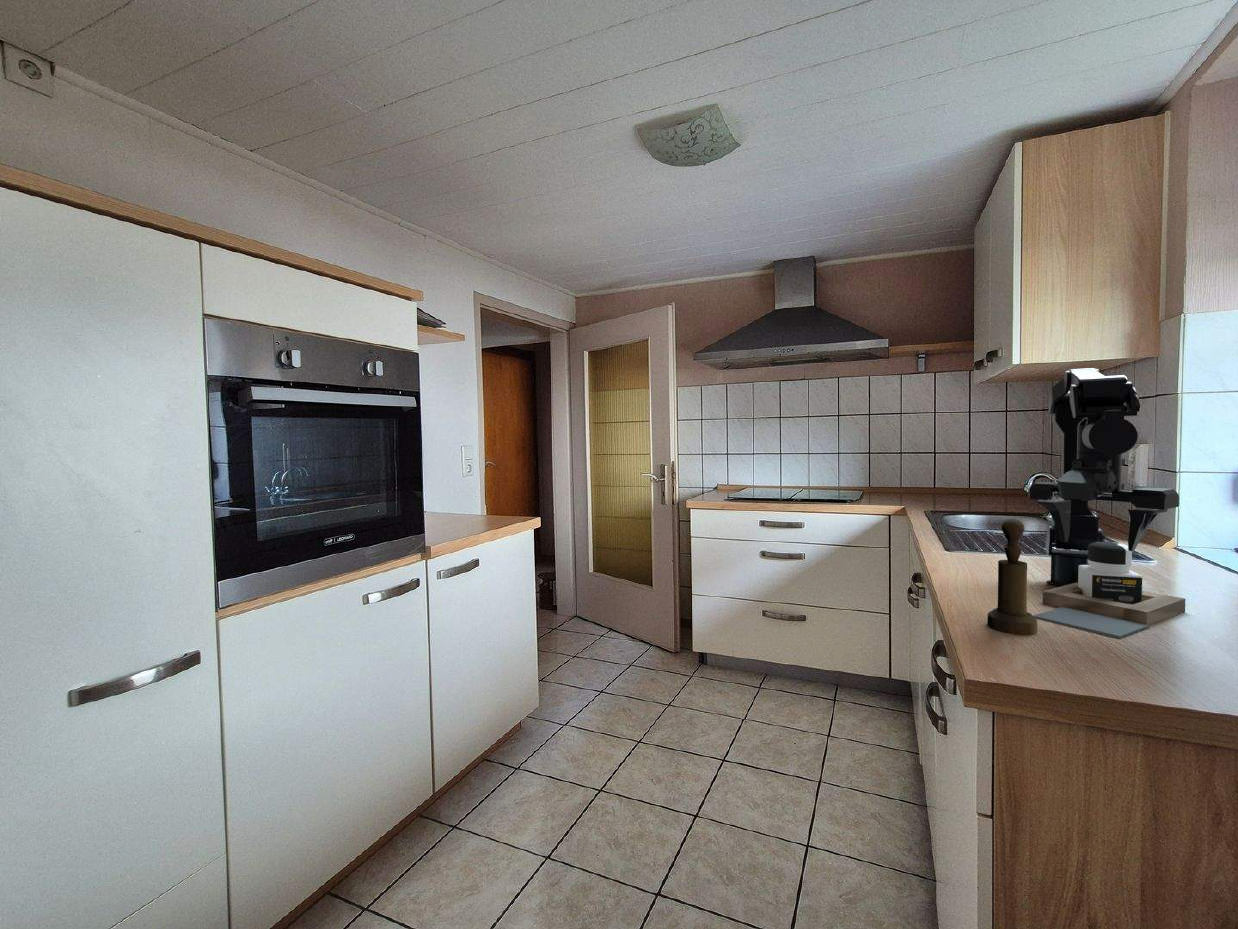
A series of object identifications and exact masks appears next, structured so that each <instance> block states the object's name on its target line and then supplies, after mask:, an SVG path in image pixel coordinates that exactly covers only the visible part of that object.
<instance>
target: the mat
mask: <svg viewBox="0 0 1238 929" xmlns="http://www.w3.org/2000/svg"><path fill="white" fill-rule="evenodd" d="M1032 616H1033V617H1035V618H1036V619H1037V620H1042V621H1045V622H1050V623H1053V624H1058V625H1062V626H1065V627H1070V628H1074V629H1078V630H1080V631H1081V630H1083V631H1085V632H1090V633H1094V634H1098V635H1103V636H1107V637H1110V638H1115V639H1118V640H1122V639H1123V638H1126V637H1129V636H1132V635H1135V634H1138V633H1140V632H1143V631H1145V630H1148V629H1150V626H1149V625H1146V624H1142V623H1137V622H1132V621H1128V620H1123V619H1119V618H1114V617H1109V616H1105V615H1100V614H1095V613H1091V612H1086V611H1081V610H1077V609H1072V608H1067V607H1056V608H1053V609H1050V610H1047V611H1044V612H1040V613H1036V614H1034V615H1033V614H1032Z"/></svg>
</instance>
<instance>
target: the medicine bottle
mask: <svg viewBox="0 0 1238 929" xmlns="http://www.w3.org/2000/svg"><path fill="white" fill-rule="evenodd" d="M1132 554H1133V551H1129V550H1128V544H1127V545H1126V544H1124V543H1120V542H1110V541H1105V542H1094V543H1091V544H1089V545H1088V564H1090V565H1079V569H1078V587H1079V588H1081V589H1082V595H1085V596H1090V597H1095V598H1100V599H1105V600H1110V601H1115V602H1120V603H1126V604H1131V605H1133V604H1136V603H1139V602H1142V591H1143V576H1142V575H1141V574H1139V573H1137V572H1134V571H1133V570H1130V569H1131V568H1132V564H1133V563H1132V559H1133V555H1132Z"/></svg>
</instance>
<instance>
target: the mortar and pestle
mask: <svg viewBox="0 0 1238 929" xmlns="http://www.w3.org/2000/svg"><path fill="white" fill-rule="evenodd" d="M1001 532H1002V533H1003V535H1004V536H1005V538H1006V541H1007V544H1006V545H1005V546H1003V547H1004V552H1005V557H1006V558H1007V559H999V560H998V561H997V607H995V608H993V609H992V610H991V611H989V612H988V613H987V623H986V626H987V627H988V628H989V629H990V630H991V629H992V630H993V631H996V632H1000V633H1003V634H1009V635H1015V636H1033V635H1036V634H1037V633H1038V619H1037V618H1035V617H1033V614H1032V613H1030V612H1028V598H1027V596H1028V587H1027V586H1028V562H1026V561H1021V560H1019V559H1020V556H1021V553H1022V547H1021V546H1020V545H1019V540H1020V539H1021V537H1022V536H1023V534H1024V532H1025V525H1024V523H1023V522H1022V521H1020V520H1019V519H1016V518H1009V519H1005V520H1004V521H1003V522H1002V524H1001Z"/></svg>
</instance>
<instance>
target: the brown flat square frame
mask: <svg viewBox="0 0 1238 929" xmlns="http://www.w3.org/2000/svg"><path fill="white" fill-rule="evenodd" d="M1042 604H1044V605H1048V606H1054V607H1056V608H1060V607H1067V608H1072V609H1077V610H1081V611H1086V612H1091V613H1095V614H1100V615H1105V616H1109V617H1114V618H1119V619H1123V620H1128V621H1132V622H1137V623H1142V624H1146V625H1149V627H1150V626H1152V625H1154V624H1158V623H1160V622H1163V621H1166V620H1168V619H1172V618H1174V617H1176V616H1177V617H1178V616H1179V615H1182V614H1184V613H1186V598H1183V597H1179V596H1173V595H1167V594H1161V593H1156V592H1150V591H1145V590H1142V602H1139V603H1136V604H1133V605H1131V604H1126V603H1120V602H1115V601H1110V600H1105V599H1100V598H1095V597H1090V596H1085V595H1082V589H1081V588H1079V587H1078V582H1076V583H1072V584H1069V585H1065V586H1058V587H1054V588H1050V589H1046V590H1043V591H1042ZM1181 613H1182V614H1181Z"/></svg>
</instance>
